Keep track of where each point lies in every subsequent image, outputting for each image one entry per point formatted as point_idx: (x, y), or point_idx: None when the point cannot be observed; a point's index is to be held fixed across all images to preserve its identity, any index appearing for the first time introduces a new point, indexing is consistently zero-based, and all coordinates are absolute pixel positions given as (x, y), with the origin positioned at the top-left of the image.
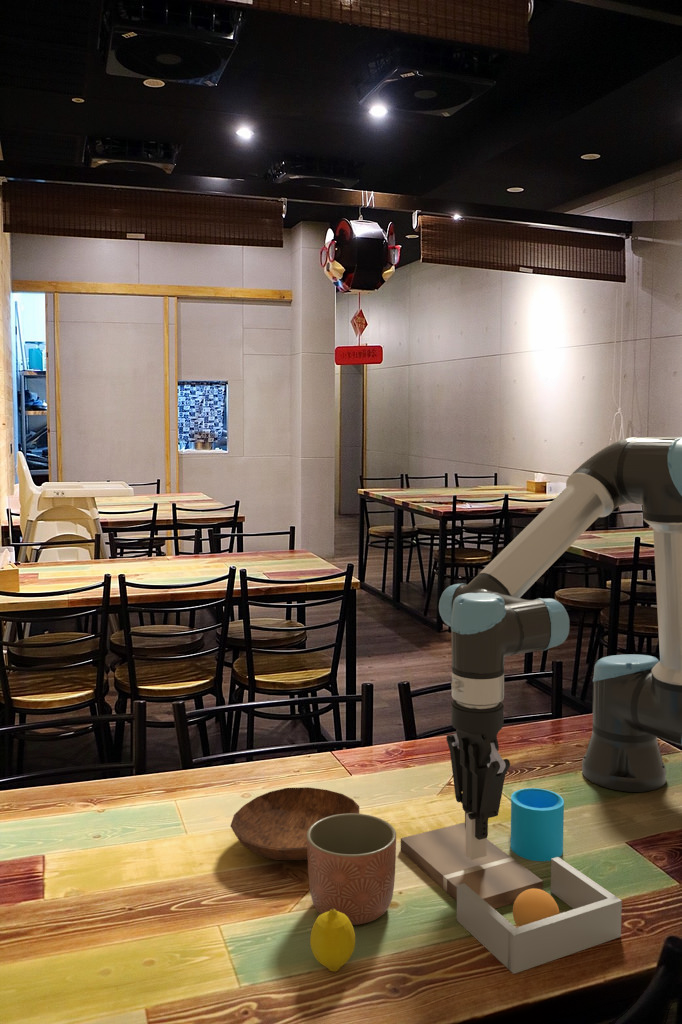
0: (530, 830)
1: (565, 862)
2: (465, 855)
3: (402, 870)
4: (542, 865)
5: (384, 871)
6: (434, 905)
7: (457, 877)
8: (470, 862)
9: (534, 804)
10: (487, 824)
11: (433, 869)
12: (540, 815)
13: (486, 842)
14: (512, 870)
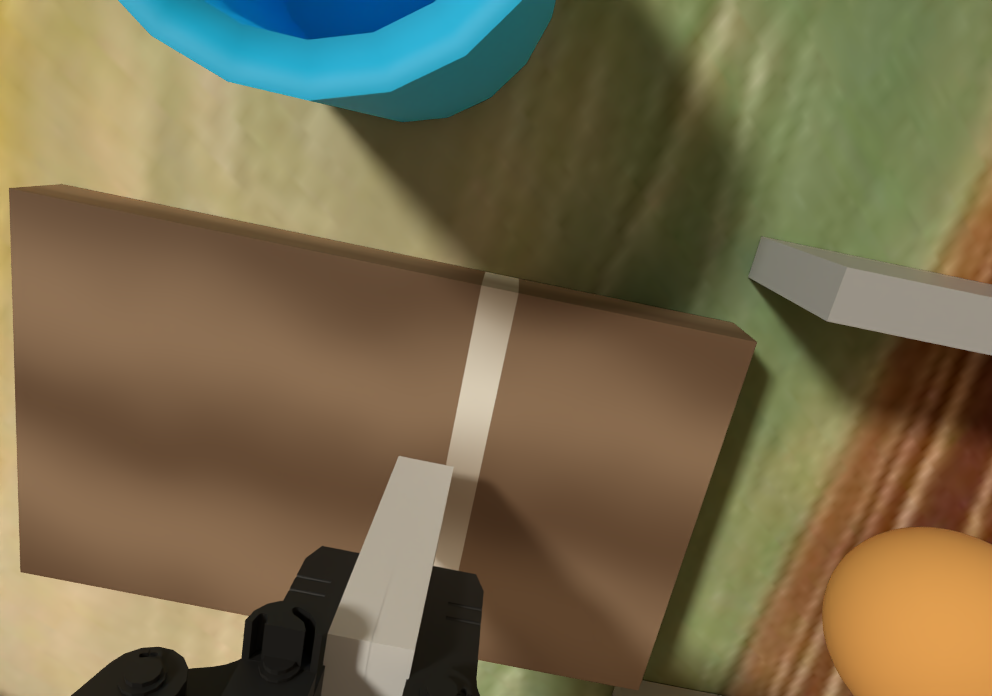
0: (459, 88)
1: (924, 288)
2: (326, 456)
3: (213, 626)
4: (559, 96)
5: None
6: (486, 693)
7: None
8: None
9: None
10: (477, 651)
11: None
12: (518, 15)
13: (443, 508)
14: (581, 384)
